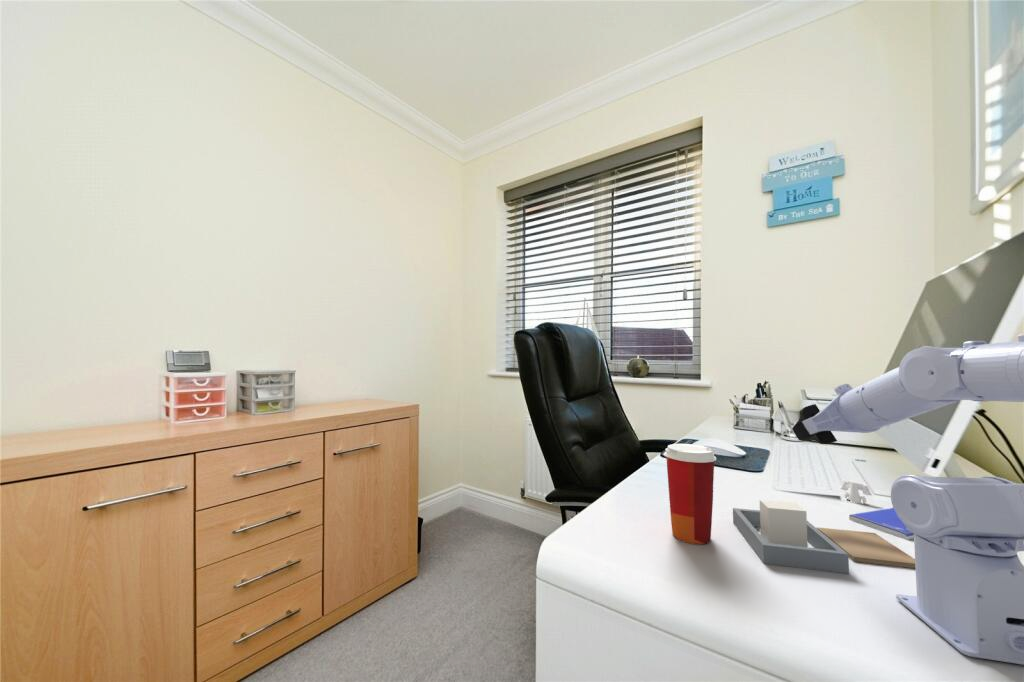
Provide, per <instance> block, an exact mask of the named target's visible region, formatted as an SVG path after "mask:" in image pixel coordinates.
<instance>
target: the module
mask: <svg viewBox="0 0 1024 682" xmlns="http://www.w3.org/2000/svg"><path fill="white" fill-rule="evenodd" d="M759 510H760V527H759V529H760V532H759V534H760V535H761V536H762V537H763V538H764V540H765V541H766V542H767V543H772V544H781V545H790V546H799V547H809V546H808V544H809V542H808V541H807V521H808V519H807V518H808V517H807V510H805V509H804V508H803V507H801V506H800V505H799V504H798V503H797V502H791V501H779V500H768V499H767V500H766V499H759Z"/></svg>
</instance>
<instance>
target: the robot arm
mask: <svg viewBox="0 0 1024 682" xmlns="http://www.w3.org/2000/svg"><path fill="white" fill-rule="evenodd" d="M962 345H963V346H962V347H935V346H933V345H932V346H929V345H924V346H921V347H919V348H914V349H912V350H911V351H909V352H907V353H906V354H905V355H904V356H903V357H902V359H901V361H900V363H899V366H897V367H896V368H894V369H891V370H889V371H887V372H885V373H883V374H881V375H878V376H877V377H874V378H873V379H871V380H869V381H866V382H865V383H862V384H861V385H859V386H857V387H854V388H853V387H852V385H850V384H848V383H844V384H840V385H837V386H835V387H834V388H833V389H834V392H835V394H836V395H835V397H834V398H833V399H832V400H831V401H830V402H829V403H827V404H826V405H825V406H824V407H823V408H822V409H821V410H820V409H819V407H818V406H817V405H816V403H813V404H810V405H808V406H807V405H806V406H805V407H802V408H801V409H800V410H799V419H798V420H797V422H796V423H794V425H793V426H792V429H791V430H792V431H793V433H794V434H795V436H796V438H797V440H799V441H802V442H803V441H814V442H817V443H818V444H820V445H829V444H832V443H836V442H838V440H837V438H836V437H835V435H834V434H833V432H845V433H861V434H868V433H874V432H876V431H879V430H880V429H882V428H883V427H886V426H889V425H892V424H896V423H899V422H902V421H904V420H907V419H911V418H913V417H917V416H919V415H923V414H925V413H928V412H932V411H935V410H937V409H939V408H942V407H946V406H948V405H951V404H954V403H957V402H959V401H961V400H962V401H972V402H1007V403H1008V402H1011V403H1015V402H1016V403H1024V333H1020V334H1018V335H1017V340H1016V341H1003V342H996V343H995V342H994V343H987V342H986V341H985V340H970V341H969V340H968V341H964V342H963V344H962ZM890 501H891V505H892V508H894V510H895V512H896V514H897V516H898V517H899V519H900V520H901V521H902V522H903V523H904V524H905V526H906V529H907V530H908V531H910V532H912V533H914V539H913V541H914V543H913V544H914V546H913V547H914V559H915V567H916V568H915V583H916V584H915V587H916V596H915V595H908V594H901V593H900V594H899V593H898V594H896V595H895V599H897V600H898V601H899V602H900V603H902V604H903V605H904V606H905V607H906V608H907V609H909V610H910V611H911V612H912V613H913V614H914V615H916V616H917V617H918V618H919V619H920V620H921V621H923V622H924V623H925V624H927V625H928V626H929V627H930V628H931V629H933V630H934V631H935V632H936V633H937V634H938V635H940V636H941V637H942V638H943V639H944V640H946V641H947V642H948V643H950V645H951V646H953V647H954V648H955V649H957V651H959V652H960V653H962V655H965V656H968V657H970V658H971V657H972V658H977V659H978V658H979V659H983V660H984V659H986V660H991V661H999V662H1003V663H1004V662H1005V663H1008V664H1009V663H1010V664H1018V665H1023V666H1024V564H1023V563H1022V562H1021V559H1020V557H1019V556H1018V552H1024V483H1016V482H1014V481H1011V480H1009V479H1006V478H1003V477H999V476H981V477H957V476H956V477H955V476H949V477H948V476H921V475H919V474H904V475H900V476H899V477H897V478H896V479H895V480H894V482H893V483H892V485H891V489H890Z"/></svg>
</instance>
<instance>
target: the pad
mask: <svg viewBox="0 0 1024 682" xmlns="http://www.w3.org/2000/svg"><path fill="white" fill-rule="evenodd" d="M816 528H817V529H818V530H819V531H820V532H822V533H823V534H824V535H825V536H827V537H828V538H829V539H830V540H831V541H833V542H834V543H835V544H836V545H838V546H839V547H840V548H841V549H842V550H844V551H845V552H846V553H847V554H848V557H849V559H850V560H851V561H853V562H858V563H865V564H866V563H867V564H875V565H882V566H883V565H885V566H893V567H901V568H909V569H910V568H911V569H916V567H915V557H913V556H910V555H909V554H908V553H906V552H905V551H904V550H902V549H900V548H899V547H897V546H896V545H894V544H893V543H891V542H889V541H888V540H887V539H885V538H883V537H881V536H880V535H879V534H878V533H876V532H869V531H868V532H867V531H859V530H858V531H857V530H848V529H837V528H828V527H827V528H825V527H818V526H817V527H816Z"/></svg>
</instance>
